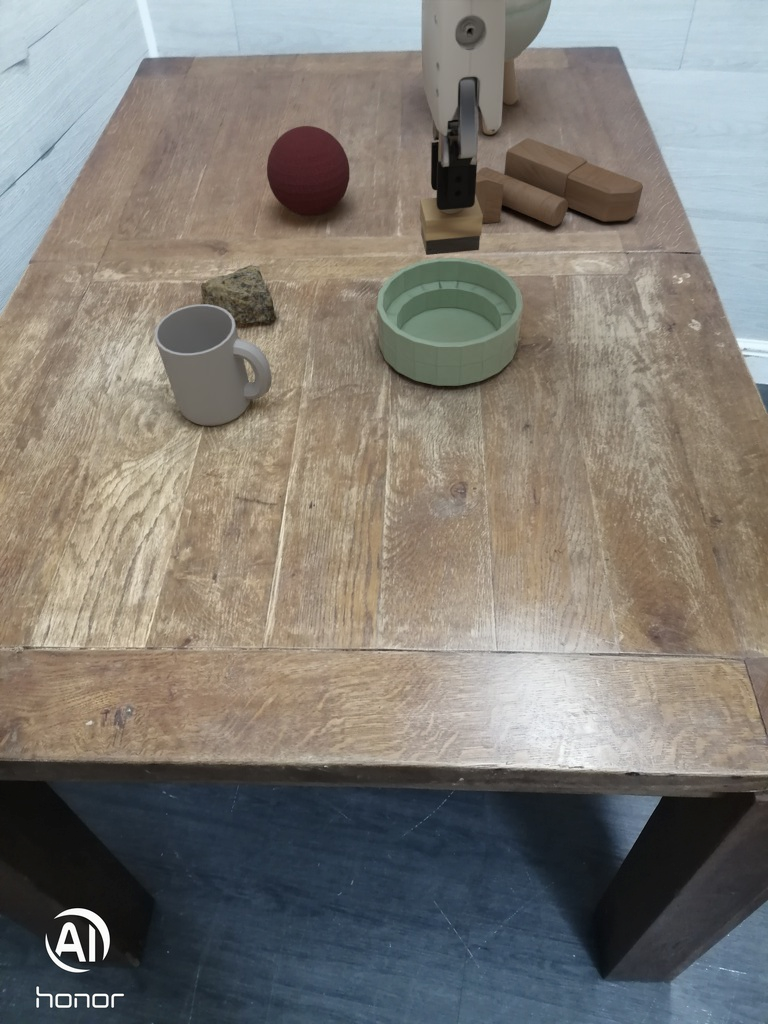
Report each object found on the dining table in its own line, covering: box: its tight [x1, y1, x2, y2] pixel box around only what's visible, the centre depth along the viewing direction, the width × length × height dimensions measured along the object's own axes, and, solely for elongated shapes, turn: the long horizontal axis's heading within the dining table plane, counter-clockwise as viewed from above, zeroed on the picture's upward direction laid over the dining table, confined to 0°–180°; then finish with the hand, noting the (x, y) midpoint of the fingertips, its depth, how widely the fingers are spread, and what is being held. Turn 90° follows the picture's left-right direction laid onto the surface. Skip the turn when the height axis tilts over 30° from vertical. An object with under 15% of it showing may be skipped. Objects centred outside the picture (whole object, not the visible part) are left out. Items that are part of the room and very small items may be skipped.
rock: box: [200, 264, 277, 324], centre depth 83 cm, size 7×8×4 cm
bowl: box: [376, 257, 524, 387], centre depth 78 cm, size 14×14×6 cm
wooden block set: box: [475, 137, 644, 227], centre depth 91 cm, size 17×6×18 cm
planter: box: [481, 0, 552, 136], centre depth 102 cm, size 16×16×22 cm
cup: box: [154, 303, 273, 427], centre depth 72 cm, size 7×10×9 cm
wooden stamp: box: [419, 132, 483, 256], centre depth 66 cm, size 5×4×10 cm
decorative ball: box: [266, 125, 350, 217], centre depth 93 cm, size 10×10×10 cm
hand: (452, 195), depth 66 cm, fingers closed on wooden stamp, 2 cm apart
